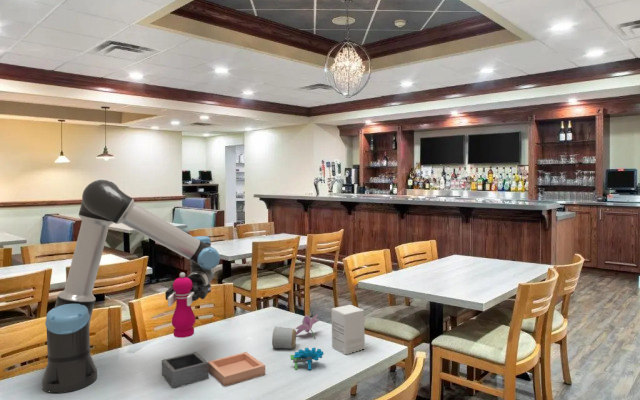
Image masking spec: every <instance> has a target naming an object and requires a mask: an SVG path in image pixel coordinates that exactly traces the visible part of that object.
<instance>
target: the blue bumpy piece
mask: <svg viewBox="0 0 640 400" xmlns="http://www.w3.org/2000/svg"><path fill="white" fill-rule="evenodd" d="M324 354H325V353H324V351H323V350H322V349H321V348H317V349H316V347H311V349H309V347H305V348H304V350H303V349H302V348H300V349H299V350H297V351H295V352H294V354H290V360H291V361H292V363H294V370H298V364H300V363H307V370H308V371H311V370H312V362H313V360H314V361H315V362H316V361H319V359H322V358H323V356H324Z"/></svg>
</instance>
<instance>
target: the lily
mask: <svg viewBox="0 0 640 400" xmlns="http://www.w3.org/2000/svg"><path fill="white" fill-rule="evenodd" d="M318 316H319V313H317V314H316V315H314V316H313V317H311V316H310V315H308V314H305V316H304V317H303V319H302V320H301V321H302V322H301V323H302V324H300V325H299V326H298V325H297V327H295V330H296V336H297V335H299V334H300V333H301V332H303V331H304V332H305V333H307V332H309V333H310V331H311V334H312V336H313V338H314V339H316V336H315V335H314V332H313V330H312V329H313V325H315V324H316V323H318V322H319V321H320V319H319V318H317V317H318Z"/></svg>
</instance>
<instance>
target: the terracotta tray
mask: <svg viewBox="0 0 640 400" xmlns="http://www.w3.org/2000/svg"><path fill="white" fill-rule="evenodd" d="M207 362H208V363H209V374H210V375H211V376H213V377H214V378H215V379H216V380H217V381H218V382H219V383H220V384H221V385H222V386H223V387H228V386H231V385H234V384H238V383H242V382H244V381H248V380H251V379H255V378H258V377H259V378H260V377H262V376H265V375H266V365H265V364H264V363H263V362H261V360H258V359H257V358H256V357H254V356H253V355H251V354H250V353H248V352H247V351H245V352H240V353H237V354H233V355H229V356H224V357H220V358H217V359H213V360H210V361H207Z"/></svg>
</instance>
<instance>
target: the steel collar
mask: <svg viewBox="0 0 640 400" xmlns="http://www.w3.org/2000/svg"><path fill="white" fill-rule="evenodd" d="M208 362H209V361H207V360H206V359H205V358H203V356H201V355H200V354H199V353H198V352H197V351H193V352H190V353H189V352H188V353H185V354H181V355H180V354H179V355H176V356H172V357H168V358H163V359H161V375H162V377H163V378H164V379H165V381H166V382H167V383H168V384H169V386H170V387H171V388H172V389H176V388H179V387H183V386H187V385H189V384H193V383H197V382H201V381H203V380H207V379H210V372H209V363H208Z"/></svg>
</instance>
